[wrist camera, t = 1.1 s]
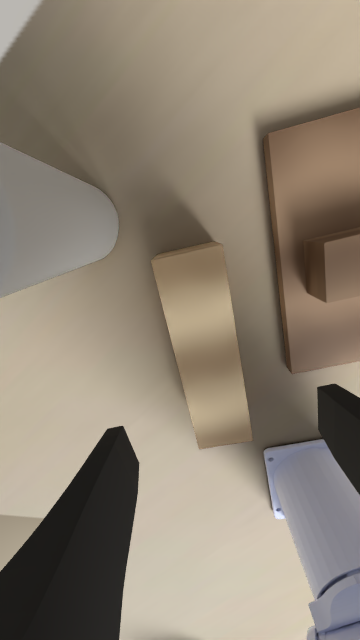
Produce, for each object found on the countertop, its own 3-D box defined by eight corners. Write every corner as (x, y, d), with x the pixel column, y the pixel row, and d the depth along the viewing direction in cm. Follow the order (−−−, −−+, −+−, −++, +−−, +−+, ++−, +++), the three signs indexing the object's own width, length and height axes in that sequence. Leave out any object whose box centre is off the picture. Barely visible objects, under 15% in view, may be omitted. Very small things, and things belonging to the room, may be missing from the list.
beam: (241, 404, 22) (253, 440, 18) (196, 411, 22) (199, 449, 18) (213, 241, 17) (222, 244, 13) (157, 253, 18) (150, 260, 14)
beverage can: (109, 175, 16) (-83, 37, 4) (130, 253, 17) (32, 299, 6) (37, 193, 16) (-308, 112, 5) (65, 268, 18) (-143, 338, 6)
